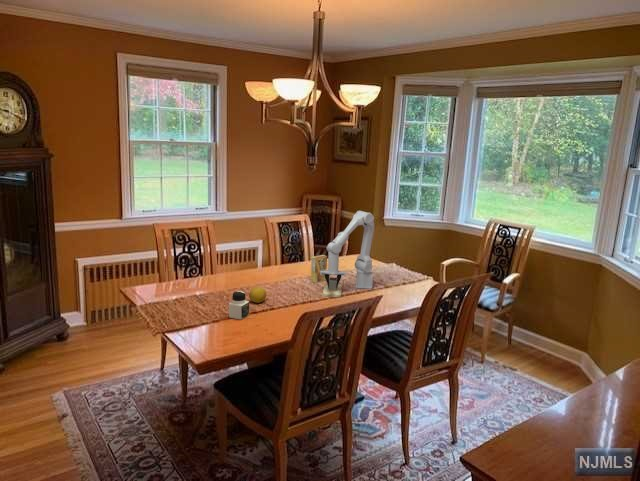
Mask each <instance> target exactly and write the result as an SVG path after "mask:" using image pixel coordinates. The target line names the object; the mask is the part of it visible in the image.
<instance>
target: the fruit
mask: <svg viewBox="0 0 640 481" xmlns="http://www.w3.org/2000/svg"><path fill="white" fill-rule="evenodd" d="M248 294H249V295H248V298H249V299H250V301H251V302H253V303H256V304H260V303H262V302H264V301H265V299H266V298H267V291H266V289H265V288H263V287H262V286H254V287H253V288H252V289H250V291H249V293H248Z"/></svg>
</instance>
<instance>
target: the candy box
mask: <svg viewBox="0 0 640 481" xmlns="http://www.w3.org/2000/svg"><path fill="white" fill-rule="evenodd" d="M310 265H311V268H310V269H311V270H310V281H311V282H312V283H315V284H316V282H317V283H320V282H325V281H326V279H325V275H320V271H326V270H328V255H324V254H320V255H316V256H314V255H313V256H311V264H310ZM326 282H327V281H326Z"/></svg>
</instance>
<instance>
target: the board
mask: <svg viewBox="0 0 640 481" xmlns="http://www.w3.org/2000/svg"><path fill="white" fill-rule="evenodd" d="M342 287H343V284H342V283H341V284H340V283H339V284H338V288H336V292H329V288H328V285H327V283H324V286H323V291H322V297H332V298H334V297H335V298H341V297H342V290H343V289H342Z"/></svg>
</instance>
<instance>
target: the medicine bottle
mask: <svg viewBox="0 0 640 481" xmlns="http://www.w3.org/2000/svg"><path fill="white" fill-rule="evenodd" d="M248 316H250V301H249V300H246V293H245V292H244V291H240V290H238V291H234V292H233V293H232V301H231V302H229V303H228V317H229V318H230V319H234V320H235V319H236V320H240V321H242V320H244V319H245V318H247V317H248Z"/></svg>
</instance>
